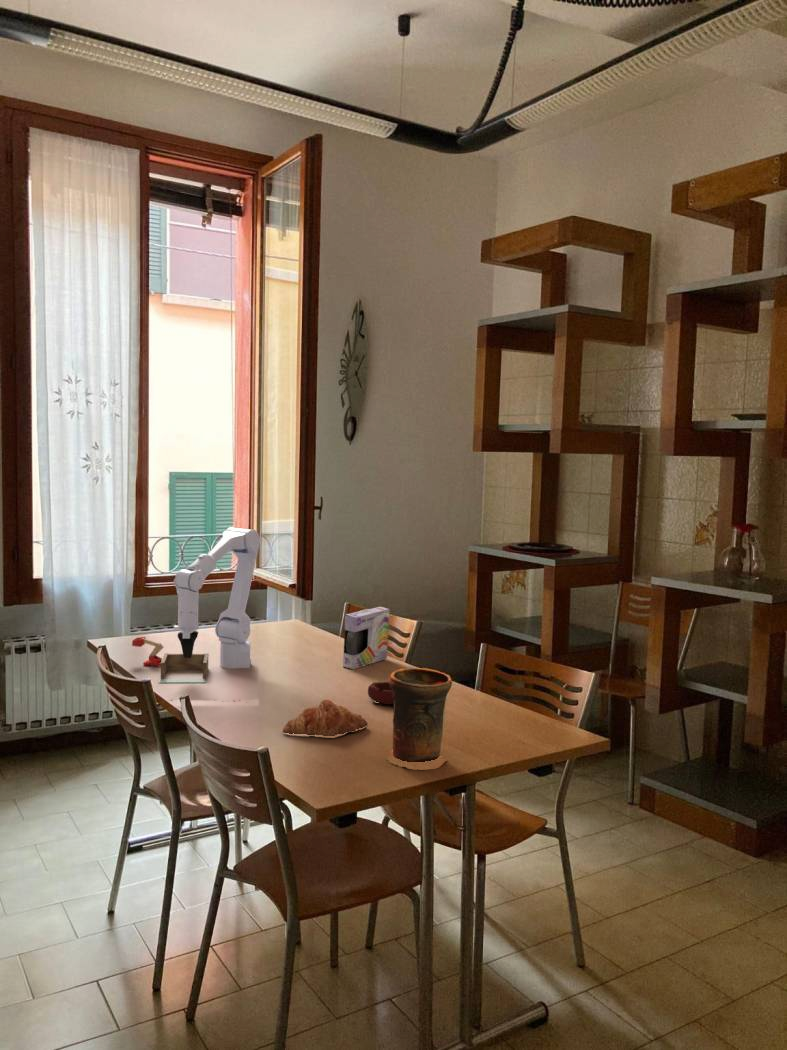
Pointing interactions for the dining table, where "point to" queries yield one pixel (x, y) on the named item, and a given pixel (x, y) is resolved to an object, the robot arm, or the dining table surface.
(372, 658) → the cake pan box
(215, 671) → the dining table surface
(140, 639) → the red desk lamp
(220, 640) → the robot arm
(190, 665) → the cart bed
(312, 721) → the pastry
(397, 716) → the vessel
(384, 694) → the ashtray
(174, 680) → the panel
